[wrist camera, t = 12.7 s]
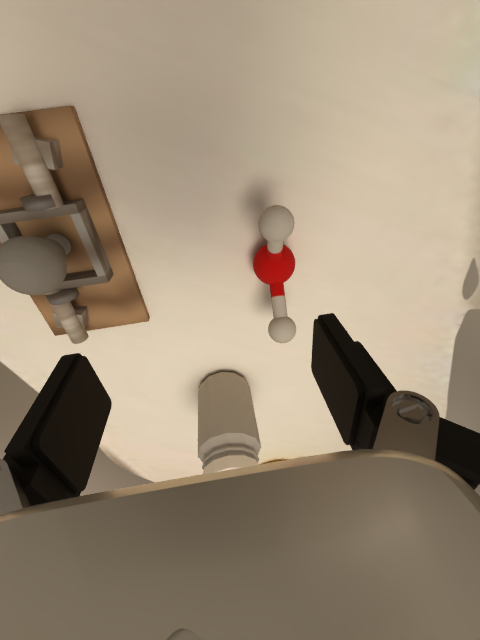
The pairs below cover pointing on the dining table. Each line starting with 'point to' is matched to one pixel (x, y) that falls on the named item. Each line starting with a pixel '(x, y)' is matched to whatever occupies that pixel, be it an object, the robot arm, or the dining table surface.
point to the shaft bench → (66, 221)
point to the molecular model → (276, 267)
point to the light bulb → (34, 263)
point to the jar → (226, 424)
